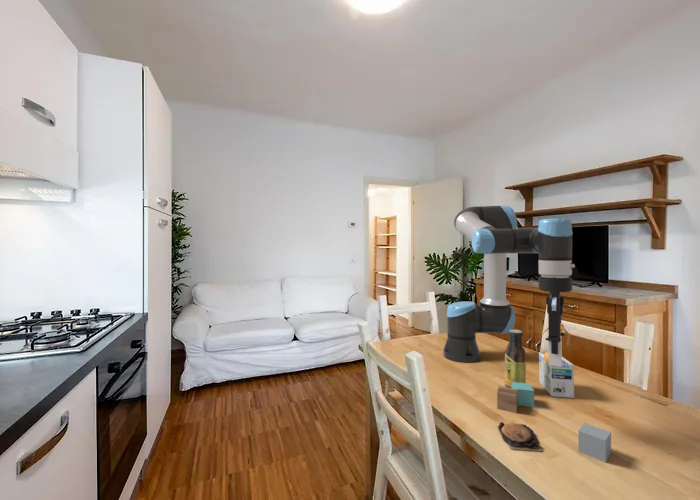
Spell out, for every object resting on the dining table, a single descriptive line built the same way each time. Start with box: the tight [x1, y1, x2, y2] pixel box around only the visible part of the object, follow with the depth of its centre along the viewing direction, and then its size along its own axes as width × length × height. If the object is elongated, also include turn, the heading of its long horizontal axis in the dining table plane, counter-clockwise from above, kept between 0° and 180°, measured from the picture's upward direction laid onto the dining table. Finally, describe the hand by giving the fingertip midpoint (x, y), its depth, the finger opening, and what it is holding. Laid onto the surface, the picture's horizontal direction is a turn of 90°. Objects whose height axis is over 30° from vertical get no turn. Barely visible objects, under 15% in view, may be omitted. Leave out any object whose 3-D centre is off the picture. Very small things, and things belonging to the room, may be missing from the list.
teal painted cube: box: [512, 382, 535, 408], centre depth 97 cm, size 5×5×5 cm
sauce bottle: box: [504, 328, 527, 388], centre depth 105 cm, size 6×6×20 cm
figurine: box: [542, 322, 570, 366], centre depth 85 cm, size 8×6×12 cm
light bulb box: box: [538, 352, 575, 399], centre depth 104 cm, size 11×7×11 cm, turn 168°
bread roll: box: [497, 421, 544, 453], centre depth 79 cm, size 11×8×4 cm
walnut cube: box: [496, 385, 519, 414], centre depth 94 cm, size 5×5×5 cm
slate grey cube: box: [577, 422, 612, 463], centre depth 73 cm, size 5×5×5 cm
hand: (555, 362), depth 85 cm, fingers closed on figurine, 4 cm apart
